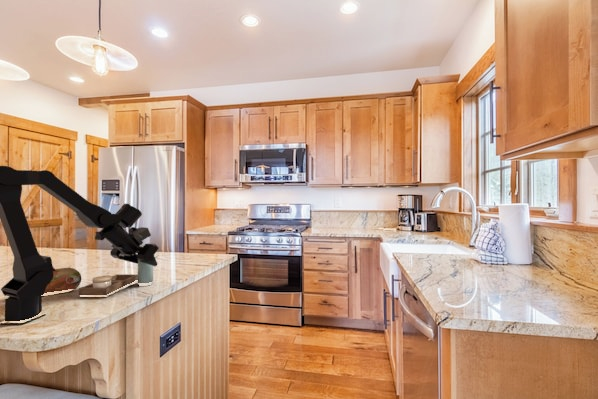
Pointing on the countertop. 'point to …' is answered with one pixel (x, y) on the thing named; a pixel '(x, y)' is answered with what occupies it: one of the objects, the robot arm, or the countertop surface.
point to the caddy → (116, 283)
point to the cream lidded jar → (102, 281)
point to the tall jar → (144, 272)
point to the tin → (64, 280)
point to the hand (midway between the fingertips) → (148, 264)
